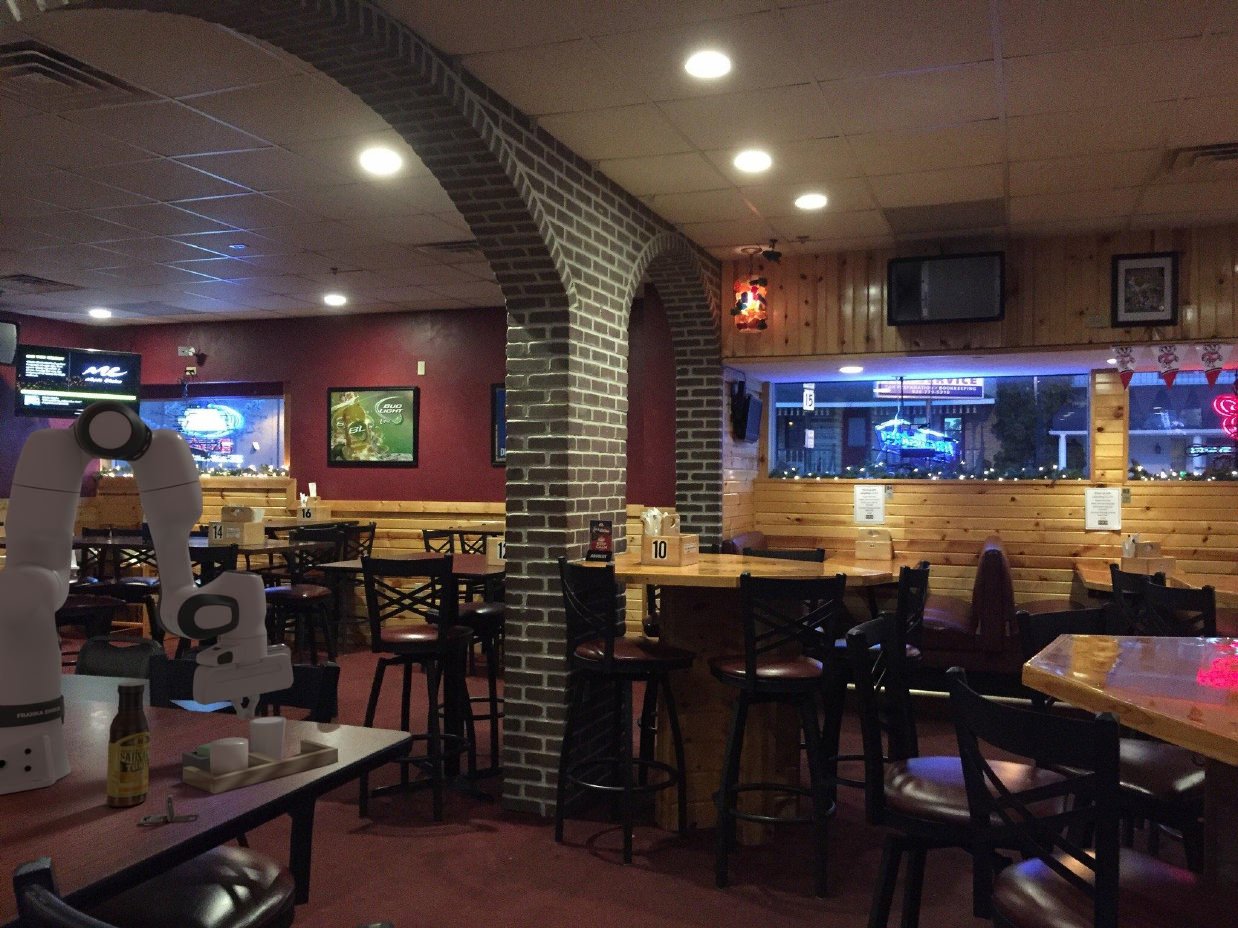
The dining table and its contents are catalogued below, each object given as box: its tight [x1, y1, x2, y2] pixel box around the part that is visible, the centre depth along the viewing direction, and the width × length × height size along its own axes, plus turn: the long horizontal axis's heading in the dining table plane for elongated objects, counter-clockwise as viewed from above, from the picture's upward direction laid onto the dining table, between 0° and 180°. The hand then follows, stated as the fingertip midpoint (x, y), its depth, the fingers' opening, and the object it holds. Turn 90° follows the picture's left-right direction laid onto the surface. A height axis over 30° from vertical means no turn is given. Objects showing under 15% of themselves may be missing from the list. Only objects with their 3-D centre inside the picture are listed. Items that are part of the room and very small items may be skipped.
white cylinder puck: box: [209, 736, 249, 776], centre depth 179 cm, size 6×6×7 cm
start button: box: [196, 742, 211, 757], centre depth 187 cm, size 4×4×3 cm
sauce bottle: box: [106, 681, 151, 808], centre depth 168 cm, size 6×6×20 cm
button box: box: [181, 749, 210, 773], centre depth 187 cm, size 7×7×3 cm
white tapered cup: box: [249, 715, 287, 758], centre depth 196 cm, size 7×7×7 cm
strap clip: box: [138, 794, 200, 826], centre depth 159 cm, size 8×3×4 cm, turn 105°
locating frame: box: [182, 738, 339, 795], centre depth 185 cm, size 25×11×2 cm, turn 141°
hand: (245, 718), depth 202 cm, fingers closed
